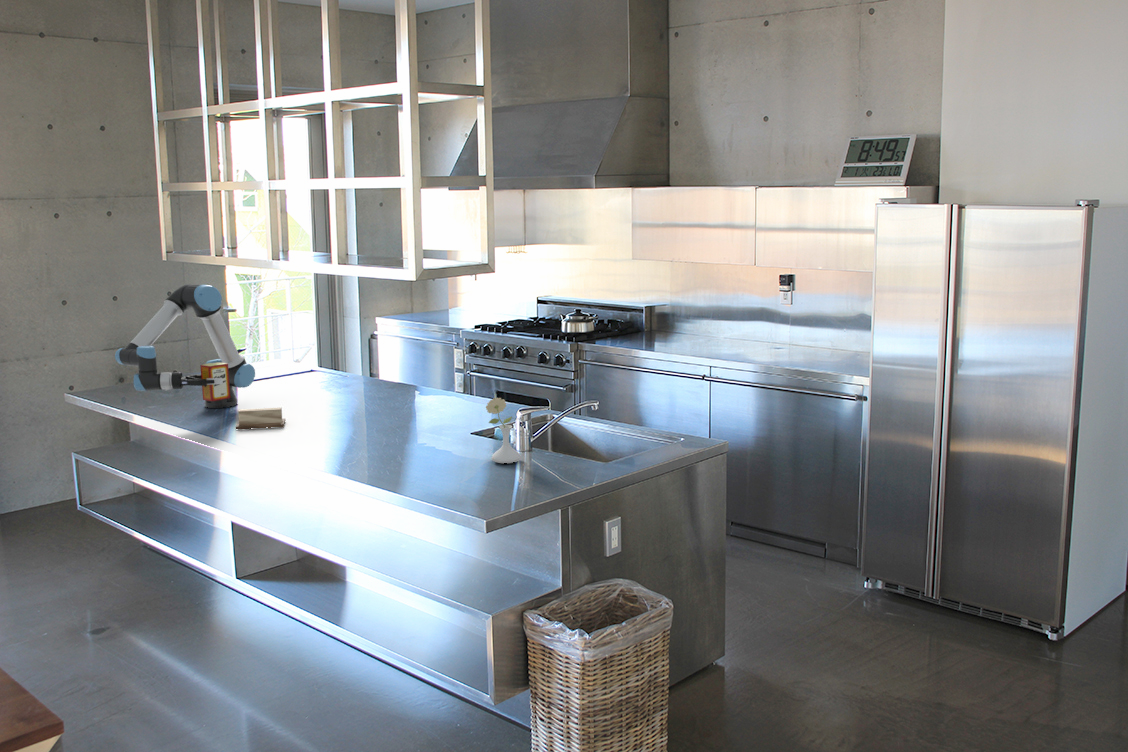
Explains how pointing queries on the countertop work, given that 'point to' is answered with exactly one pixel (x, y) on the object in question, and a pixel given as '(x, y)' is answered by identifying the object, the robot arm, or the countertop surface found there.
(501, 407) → the flower in vase
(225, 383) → the baking soda box
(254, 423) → the ridge stand
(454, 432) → the countertop surface
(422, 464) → the countertop surface
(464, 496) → the countertop surface
